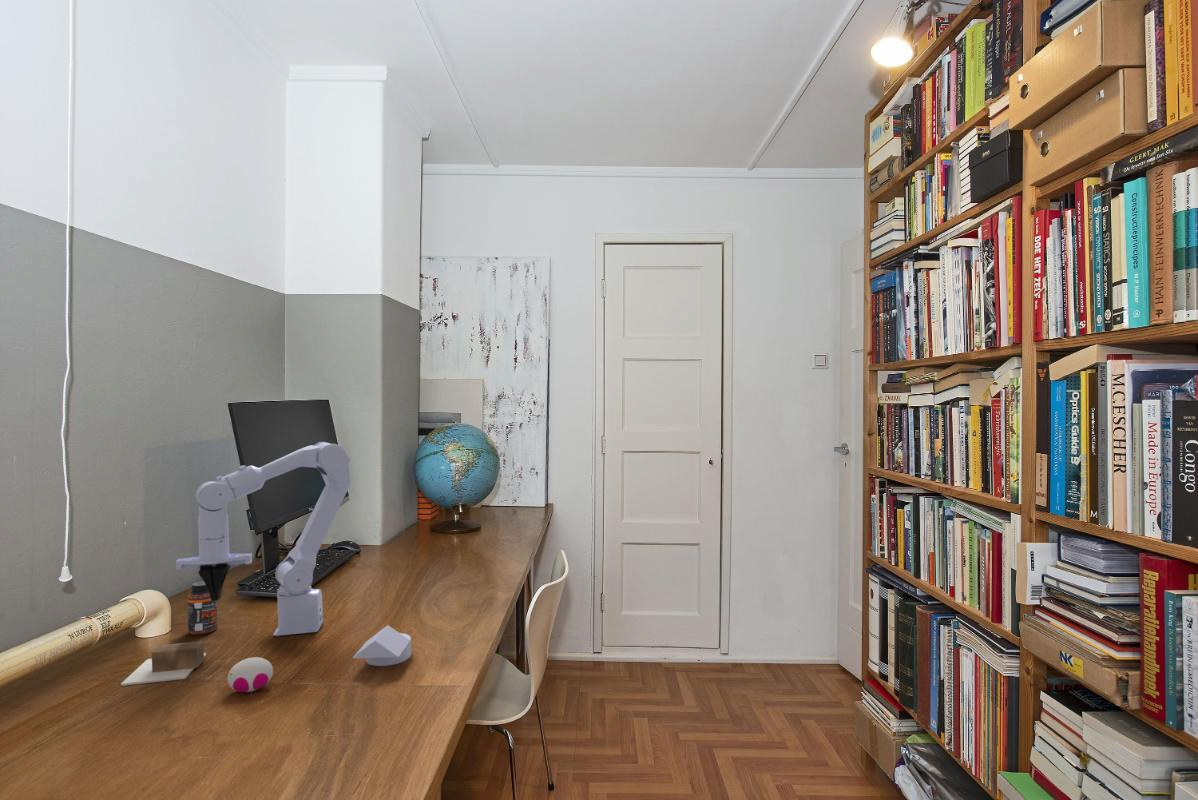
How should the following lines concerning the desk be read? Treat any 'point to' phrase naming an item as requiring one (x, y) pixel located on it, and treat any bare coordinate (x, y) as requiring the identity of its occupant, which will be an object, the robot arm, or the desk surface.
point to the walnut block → (177, 656)
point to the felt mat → (154, 674)
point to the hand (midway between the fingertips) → (216, 598)
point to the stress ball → (250, 674)
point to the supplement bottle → (201, 610)
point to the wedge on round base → (386, 648)
